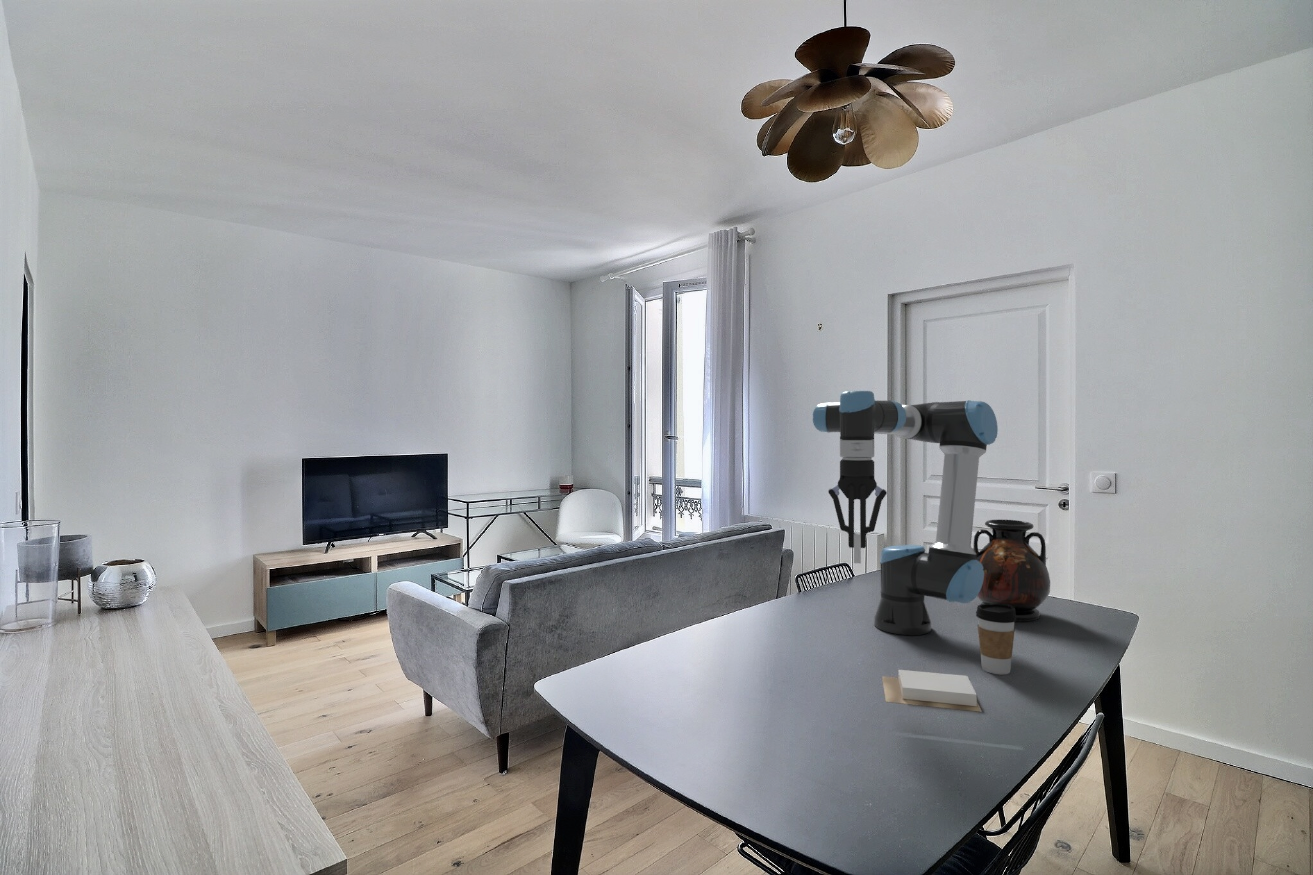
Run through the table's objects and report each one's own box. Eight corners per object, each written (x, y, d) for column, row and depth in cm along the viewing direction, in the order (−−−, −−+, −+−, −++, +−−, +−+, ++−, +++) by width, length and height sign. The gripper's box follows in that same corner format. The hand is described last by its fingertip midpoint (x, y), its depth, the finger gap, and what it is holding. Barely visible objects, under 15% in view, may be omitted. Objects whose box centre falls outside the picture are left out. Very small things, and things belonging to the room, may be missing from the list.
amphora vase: (1045, 609, 200) (1045, 519, 199) (1055, 629, 180) (1055, 529, 180) (968, 601, 209) (968, 515, 208) (969, 620, 189) (969, 525, 189)
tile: (902, 687, 134) (976, 694, 130) (898, 669, 143) (967, 675, 140) (902, 699, 134) (976, 707, 130) (898, 680, 144) (967, 687, 140)
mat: (885, 704, 133) (885, 701, 133) (881, 678, 146) (881, 676, 146) (981, 714, 128) (981, 711, 128) (968, 686, 141) (968, 684, 141)
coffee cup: (1021, 677, 146) (1022, 612, 146) (981, 675, 148) (981, 610, 148) (1009, 664, 154) (1009, 602, 154) (971, 662, 156) (971, 600, 156)
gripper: (827, 459, 145) (827, 563, 145) (888, 459, 141) (888, 567, 142) (827, 457, 152) (828, 557, 153) (886, 458, 149) (886, 560, 149)
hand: (857, 561), depth 147 cm, fingers closed
